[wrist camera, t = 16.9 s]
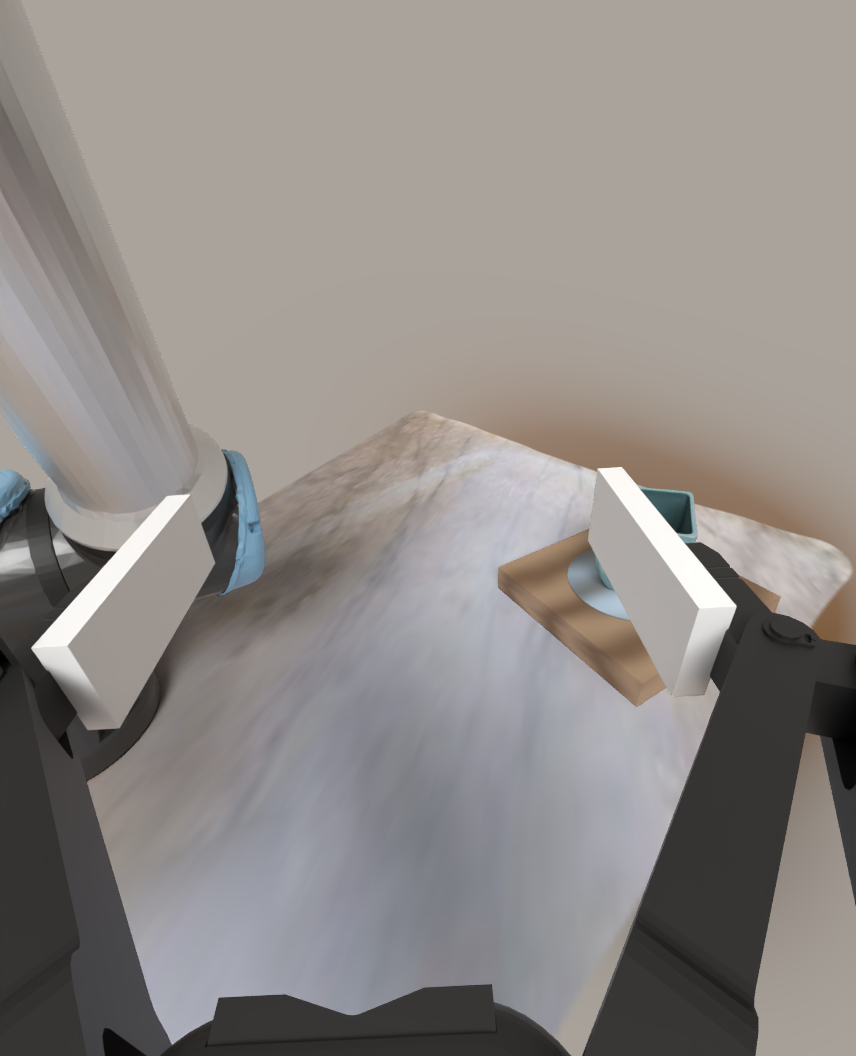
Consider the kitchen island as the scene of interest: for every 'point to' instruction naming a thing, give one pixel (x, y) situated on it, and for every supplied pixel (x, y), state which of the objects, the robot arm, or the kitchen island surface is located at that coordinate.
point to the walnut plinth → (589, 613)
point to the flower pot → (668, 517)
